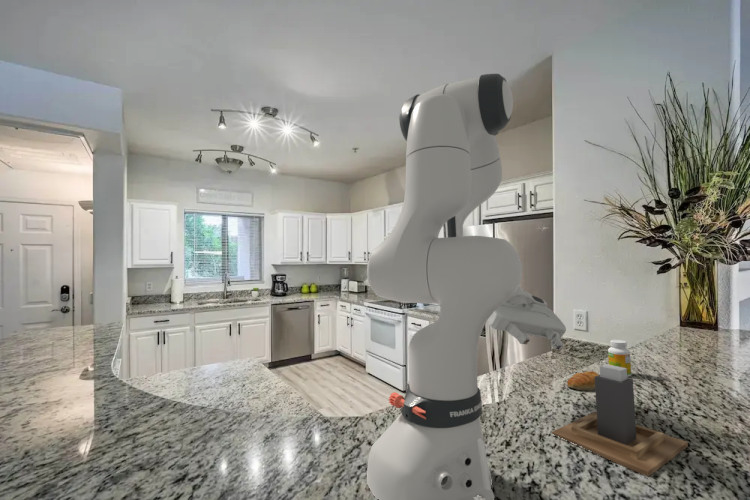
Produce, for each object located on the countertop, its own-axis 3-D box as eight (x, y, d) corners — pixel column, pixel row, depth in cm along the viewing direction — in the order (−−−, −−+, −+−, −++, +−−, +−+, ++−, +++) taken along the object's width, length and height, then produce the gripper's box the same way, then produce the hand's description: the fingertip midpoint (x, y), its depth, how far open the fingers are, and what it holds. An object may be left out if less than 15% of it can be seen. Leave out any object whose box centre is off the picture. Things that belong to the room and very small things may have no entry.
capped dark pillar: (626, 445, 63) (621, 372, 64) (597, 434, 67) (594, 366, 68) (636, 438, 65) (632, 368, 66) (608, 428, 70) (604, 362, 70)
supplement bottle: (605, 373, 105) (603, 340, 105) (616, 370, 107) (614, 338, 108) (624, 378, 100) (622, 344, 100) (635, 375, 102) (633, 341, 103)
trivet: (648, 476, 55) (647, 463, 55) (552, 435, 69) (551, 425, 69) (687, 446, 64) (687, 435, 64) (595, 415, 77) (594, 406, 77)
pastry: (582, 394, 90) (582, 379, 90) (560, 386, 96) (559, 372, 96) (607, 388, 93) (606, 374, 94) (583, 381, 100) (582, 367, 100)
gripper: (482, 287, 84) (511, 327, 72) (549, 301, 90) (586, 340, 78) (471, 307, 86) (496, 349, 75) (536, 319, 93) (569, 360, 81)
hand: (542, 344), depth 76 cm, fingers open, 8 cm apart
